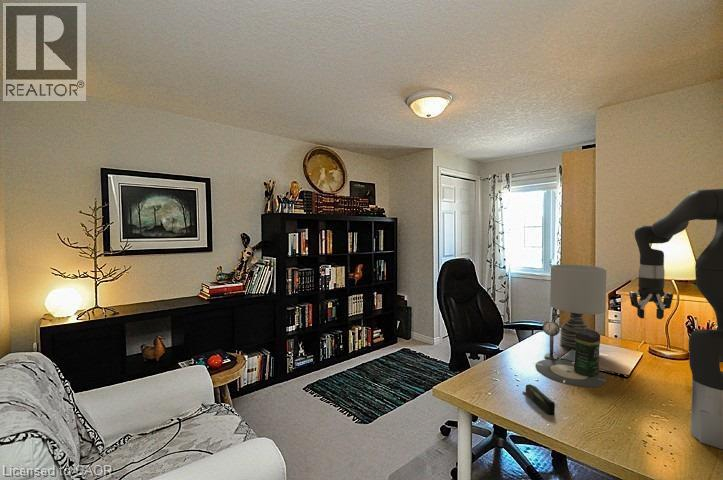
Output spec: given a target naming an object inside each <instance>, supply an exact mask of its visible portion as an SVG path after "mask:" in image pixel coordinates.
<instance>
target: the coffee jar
mask: <svg viewBox="0 0 723 480" xmlns="http://www.w3.org/2000/svg"><path fill="white" fill-rule="evenodd" d="M575 341H576V350H575V351H574V353H575V354H574V362H575V363H574V370H575V371H576V372H577V373H579V374H581V375H583V376H589V377H593V376H596V375H598V374H599V372H600V346H601V334H600V333H599V332H598V331H595V330H592V329H591V330H589V329H587V330H583V331H579V332H576V335H575Z"/></svg>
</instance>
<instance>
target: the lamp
mask: <svg viewBox="0 0 723 480" xmlns="http://www.w3.org/2000/svg"><path fill="white" fill-rule="evenodd" d="M549 290H550V296H549V297H550V298H549V299H550V300H549V301H550V302H549V305H550V307H551V308H552V309H555V310H557V311H562V312H567V313H569V318H568V320H567V321H565V322H564V323H563V324H562V325H561V326H560V332H559V333H560V336H559V337H560V346H561V347H563V348H564V349H567V350H571V351H574V350H576V341H575V335H576V332H579V331H583V330H587V329H589V330H592V329H591V327H590V326H588V324H586V323H585V322H584V318H583V317H584V315H601V314H602V315H603V314H605V313H606V309H607V308H606V306H607V305H606V302H607V268H606V267H601V266H595V265H583V264H552V265H550V289H549Z"/></svg>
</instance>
